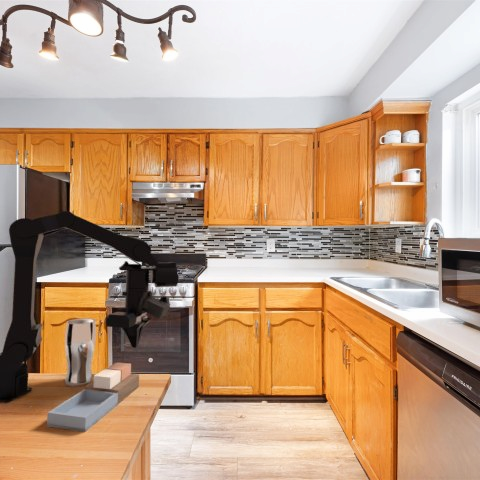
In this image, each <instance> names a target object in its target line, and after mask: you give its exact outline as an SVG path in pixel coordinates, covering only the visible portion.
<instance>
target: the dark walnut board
mask: <svg viewBox="0 0 480 480" xmlns="http://www.w3.org/2000/svg"><path fill="white" fill-rule="evenodd" d="M93 385H94V380H92V381H91V382H89V383H87V384H86V385H85V386H84V389H90V390H98V391H107V392H116V393H118V405H119V404H120V403H122V402H123V401H124V400H126V398H128V397H129V396H130V395H131V394H132V393H133V392H135V391H136V390H137V389H138V388H139V387H140V374H139V373H138V374H137V373H131V374H130V375H129V376H128V377H126V378H125V379H124V380H122V381H120V382H119V383H118V384H117V385H115V386H114V387H112V388H111V389H103V388H95V387H93Z"/></svg>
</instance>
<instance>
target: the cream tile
mask: <svg viewBox="0 0 480 480" xmlns="http://www.w3.org/2000/svg"><path fill="white" fill-rule="evenodd" d="M120 379H121V371H119V370H109V369H106V368H105V369H103V370H100V372H98V373H96V374H94V375H93V381H94V385H93V387H95V388H103V389H111V388H112V387H114V386H115V385H117V384H118V383H119V382H120Z"/></svg>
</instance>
